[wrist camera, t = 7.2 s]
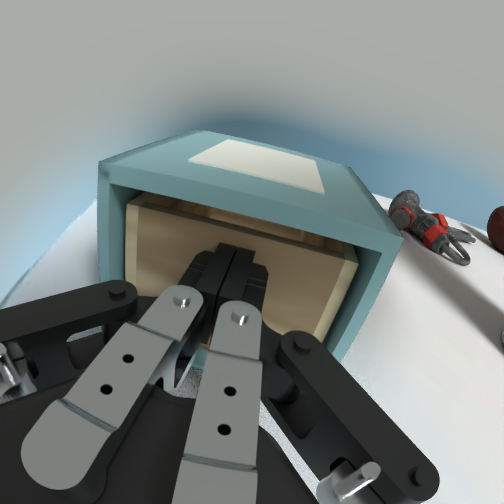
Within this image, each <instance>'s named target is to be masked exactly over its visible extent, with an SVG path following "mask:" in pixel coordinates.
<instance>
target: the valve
mask: <svg viewBox="0 0 504 504" xmlns="http://www.w3.org/2000/svg"><path fill="white" fill-rule="evenodd" d="M389 217H390V219H391V220H392V222H393V223H394V225H395V226H396V227H397V229H398V230H401V229H406V228H411V229H412V230H413V232H414V233H415V234H416V235H417V236H420V237H421V238H422V239H423V244H424V245H425V246H426V247H428V248H429V249H430V250H433V251H434V252H436V253H437V254H442V253H446V254H447V255H448V256H449V257H450V258H452V259H453V260H454V261H456V262H458V263H460V264H462V265H468V264H469V263H470V257H469V255H468V253H467V252H466V251H465V249H464V248H463V247H462V246H461V245H460V244H459V243H458V242H457V241H456V240H455V239H454V238H458V239H461V240H465V241H469V242H472V243H475V241H476V240H475V238H472V237H471V234H470V233H468V232H465V231H462V230H459V229H456V228H453V227H449V226H448V223H447V221H446V220H445V217H444V215H441V214H438V213H435V214H429V213H426V212H424V211H423V210H422V209H421V208H420V207H419V197H418V195H417V194H416V193H415V192H414V191H412V190H405V191H403V192H401V193H399V194H398V195H397V196H396V197H395V198H394V199H393V201H392V202H391V204H390V207H389ZM453 237H454V238H453ZM449 241H450V242H451V243H452V244H453V246H454V247H455V248H456V249H457V250H458V251H459V252H460V253H461V254H462V256H463V257H464V258H462V257H460V256H458V255H457V254H455V253H454V252H453V251H452V250H450V249H449V248H448V247H449V243H450V242H449Z"/></svg>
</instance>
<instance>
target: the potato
mask: <svg viewBox="0 0 504 504" xmlns="http://www.w3.org/2000/svg"><path fill="white" fill-rule="evenodd" d="M487 234H488V237H489V240H490V241H491V243H492V244H493V246H494V247H496V248H497V249H498V250H499V251H501V252H503V253H504V206H501V207H499V208H496V209H495V210H494V211H493V212H492V214H491V215H490V218H489V220H488V224H487Z"/></svg>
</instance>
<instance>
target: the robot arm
mask: <svg viewBox="0 0 504 504" xmlns="http://www.w3.org/2000/svg"><path fill="white" fill-rule="evenodd" d="M255 252H256V251H253V250H249V249H245V248H241V247H238V250H237V246H234V245H230V244H226V243H222V242H220V243H219V245H218V246H217V248H216V250H215V252H210V251H206V250H204V251H202V252H200V253H198V254H196V256H195V257H194V259H193V260H192V263H190V265H189V267H188V268H187V270H186V271H185V273H184V274H183V276H182V278H181V279H180V281H179V282H178V284H177V285H175V286H171V287H168V288H166V289H165V290H164V291H163V292H162V293H161V295H160V296H156V297H151V296H139V295H138V291H137V289H136V287H135V286H134V285H133V284H132V283H130V282H128V281H125V280H109V281H106V282H102V283H98V284H94V285H91V286H87V287H83V288H79V289H75V290H72V291H68V292H64V293H60V294H57V295H53V296H49V297H46V298H42V299H38V300H34V301H31V302H27V303H23V304H20V305H16V306H12V307H9V308H5V309H1V310H0V504H421V503H423V502H424V501H426V500H428V499H430V498H431V497H433V496H434V495H435V493H436V492H437V490H438V488H439V483H440V478H439V473H438V471H437V469H436V467H435V466H434V465H433V464H432V463H431V461H430V460H429V459H428V458H427V457H426V456H425V455H424V454H423V453H422V452H421V451H420V450H419V449H418V448H417V446H416V445H415V444H414V443H413V442H412V441H411V440H410V439H409V438H408V437H407V436H406V435H405V434H404V432H403V431H402V430H401V429H400V428H399V427H398V426H397V425H396V424H395V423H394V422H393V421H392V420H391V418H390V417H389V416H388V415H387V414H386V413H385V412H384V411H383V410H382V409H381V408H380V407H379V405H378V404H377V403H376V402H375V401H374V400H373V399H372V398H371V397H370V396H369V395H368V393H367V392H366V391H365V390H364V389H363V388H362V387H361V386H360V385H359V384H358V383H357V381H356V380H355V379H354V378H353V377H352V376H351V375H350V374H349V373H348V372H347V371H346V369H345V368H344V367H343V366H342V365H341V364H340V363H339V362H338V361H337V360H336V358H335V357H334V356H333V355H332V354H331V353H330V352H329V351H328V350H327V349H326V347H325V346H324V345H323V344H322V343H321V342H320V341H319V340H318V339H317V338H316V337H315V336H313V335H312V334H310V333H307V332H304V331H299V330H293V331H289V332H287V333H285V334H284V335H281V334H279V333H278V332H276V331H274V330H272V329H271V328H269V327H268V326H267V325H266V324H265V322H264V321H263V319H262V315H261V314H262V307H263V302H264V297H265V292H266V286H267V281H268V276H269V273H268V271H267V269H266V267H265V266H263V265H260V264H256V263H253V260H254V256H255ZM98 326H101V329H102V332H99V333H96V334H93V335H90V336H87V337H84V338H81V339H77V340H74V341H71V342H66V341H67V339H68V338H69V337H70V336H71V335H73V334H75V333H78V332H82V331H85V330H88V329H91V328H94V327H98ZM210 336H211V338H210ZM209 338H210V344H209V345H210V349H209V350H208V353H207V357H206V361H205V365H204V370H203V374H202V378H201V382H200V386H199V390H198V394H197V398H196V399H193V398H182V397H176V394H177V392H178V390H179V388H180V386H181V384H182V382H183V380H184V378H185V377H186V375H187V373H188V371H189V369H190V367H191V365H192V363H193V361H194V359H195V353H196V352H197V350H198V347H199V345H200V343H203V344H206V345H207V344H208V341H209ZM502 342H503V345H504V331H503V332H502ZM260 399H261V401H262V403H263V404H264V406H265V407H266V408H267V410H268V411H269V413H270V414H271V416H272V417H273V419H274V420H275V421H276V423H277V424H278V426H279V427H280V429H281V430H282V431H283V433H284V434H285V436H286V437H287V438H288V440H289V441H290V442H291V444H292V445H293V447H294V448H295V449H296V451H297V452H298V453H299V455H300V456H301V457H302V459H303V460H304V461H305V463H306V464H307V465H308V467H309V468H310V469H311V471H312V472H313V473H314V474H315V476H316V477H317V478H318V480H319V481H320V482H319V484H318V486H317V489H316V496H317V499H318V501H319V502H318V501H317V499H316V498H315V496H314V495H313V494H312V492H311V491H310V489H309V488H308V487H307V485H306V484H305V482H304V481H303V480H302V478H301V477H300V475H299V474H298V472H297V471H296V469H295V468H294V466H293V465H292V463H291V462H290V460H289V459H288V457H287V456H286V454H285V453H284V451H283V450H282V448H281V447H280V445H279V444H278V443H277V441H276V440H275V439H274V438H273V437H272V436H271V435H270V434H269V433H268V432H267V431H266V430H265V429H263V428H262V427H261V426H259V411H260Z"/></svg>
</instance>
